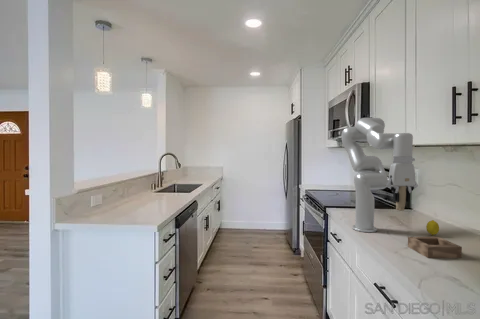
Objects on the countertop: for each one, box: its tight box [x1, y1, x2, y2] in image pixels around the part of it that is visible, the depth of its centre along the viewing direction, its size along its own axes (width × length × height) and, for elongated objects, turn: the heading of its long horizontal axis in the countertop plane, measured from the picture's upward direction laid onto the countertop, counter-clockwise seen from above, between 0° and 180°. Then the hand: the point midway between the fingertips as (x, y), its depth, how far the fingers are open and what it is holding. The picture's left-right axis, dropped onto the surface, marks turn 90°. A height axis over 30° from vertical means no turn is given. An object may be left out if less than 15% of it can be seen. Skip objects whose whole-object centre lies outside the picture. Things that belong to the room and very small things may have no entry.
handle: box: [395, 178, 409, 212], centre depth 134 cm, size 5×6×15 cm
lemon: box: [425, 219, 440, 237], centre depth 153 cm, size 6×6×8 cm
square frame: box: [407, 236, 463, 259], centre depth 128 cm, size 14×14×4 cm
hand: (401, 201), depth 133 cm, fingers closed on handle, 4 cm apart
